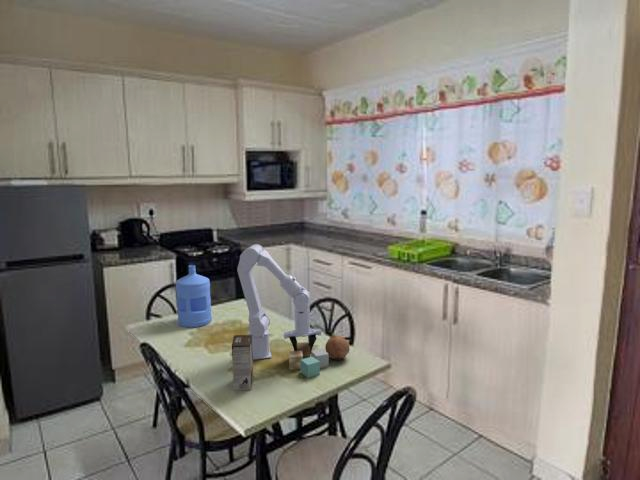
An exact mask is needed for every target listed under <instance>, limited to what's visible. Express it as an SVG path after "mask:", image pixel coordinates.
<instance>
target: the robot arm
mask: <svg viewBox="0 0 640 480" xmlns="http://www.w3.org/2000/svg"><path fill="white" fill-rule="evenodd" d="M269 253H270V252H268V251H267V250H266V249H264V247H263V246H262V245H260V244H257V243H255V244H252V245H251V246H249V247H247V248H246V249H244V250H243V251H242V253H241V254H240V255H239V261H238V265H237V268H236V269H237V274H238V278H239V281H240V284H241V289H242V292H243V296H244V298H245V301H246V306H247V309H248V322H249V325H248V331H249V334H247V335H252V352H253V361H255V360H261V359H271V358H272V357H273V356H272V353H271V350H270V331H269V329H268V327H269V326H270V324H271V319H270V317H269V316H268V315H267V313H266V310H265V309H264V308H263V307H262V303H261V300H260V295H259V293H258V289H257V285H256V282H255V278H254V275H253V271H252V270H253V269H254V267H255V266H259V267H264V268H266V269H267V270H268V271H269V272H270V273H271V274H272V275H273V276H274V277H276V279H277V280H279V286H280V287H281V288H282V290H284V291H285V293H287V294H288V295H289V297H290V298H291V299H293V300H292V302H293V304H294V308H295V309H294V328H295V329H294V330H289V331H284V332H283V338H284V339H286V340H287V339H289V341H290V342H291V345H292V347H293V351H297V343H298V340H297V338H300V337H302V338H305V337H307V339H308V340H307V342H308V344H309V346H310V355H311V351H313V347H314V345H315V343H316V341H317V336H322V329H320V328H317V329H316V328H311V323H310V322H311V317H310V313H311V312H310V311H311V310H310V300H311V293H310V291H309V290H308V289H307V288H305V287H304V286H302V285H301V284H300V283H299V282H298V281H297V277H296V276H292V275H290V274H286V273H285V272H284V270H283V269H282V268H281V267H280V265H279V264H278V263H277V262H276V261H275V260H274V259H273V257H272V256H271V255H270V254H269Z"/></svg>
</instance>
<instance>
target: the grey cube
mask: <svg viewBox="0 0 640 480" xmlns="http://www.w3.org/2000/svg"><path fill="white" fill-rule="evenodd" d="M310 357H314V358H315V359H317V360H318V361H320V369H321V368H326V367H329V366H330V365H329V361H330V359H329V357H330V356H329V354H328V353H327V352H326V349H325V348H321V349H315V350H314V349H313V350H312V351H311V354H310Z"/></svg>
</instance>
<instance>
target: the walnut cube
mask: <svg viewBox="0 0 640 480" xmlns="http://www.w3.org/2000/svg"><path fill="white" fill-rule="evenodd" d="M297 351H302V354H303V359H305V358H309V357H311V354H310V346H309V342H308V341H305V342H297Z"/></svg>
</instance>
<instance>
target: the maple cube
mask: <svg viewBox="0 0 640 480" xmlns="http://www.w3.org/2000/svg"><path fill="white" fill-rule="evenodd" d="M302 359H303V354H302V351H294V350H293V351H292V350H291V351H290V350H288V363H289V364H288V365H289V370H301V360H302Z"/></svg>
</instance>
